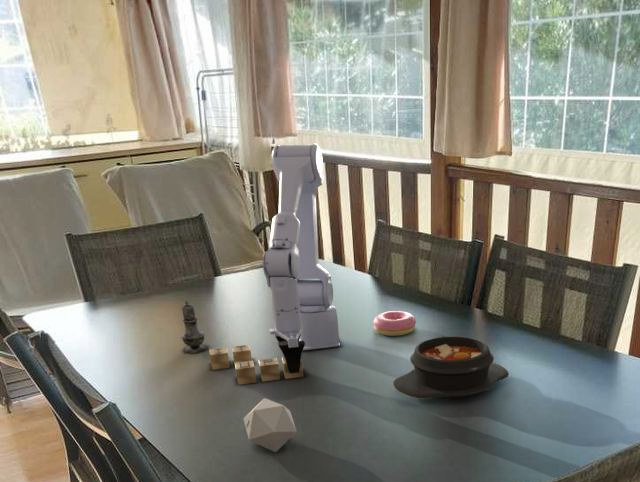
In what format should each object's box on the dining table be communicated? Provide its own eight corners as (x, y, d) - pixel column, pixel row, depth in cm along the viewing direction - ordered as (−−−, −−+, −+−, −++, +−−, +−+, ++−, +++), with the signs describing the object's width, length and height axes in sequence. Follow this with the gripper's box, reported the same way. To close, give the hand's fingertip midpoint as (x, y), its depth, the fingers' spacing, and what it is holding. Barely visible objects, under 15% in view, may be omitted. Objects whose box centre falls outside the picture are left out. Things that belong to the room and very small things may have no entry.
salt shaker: (201, 353, 168) (192, 304, 161) (179, 352, 169) (169, 304, 162) (211, 345, 173) (202, 297, 166) (189, 344, 174) (180, 297, 167)
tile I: (229, 361, 162) (226, 346, 160) (230, 367, 159) (227, 352, 157) (211, 364, 161) (209, 349, 159) (212, 370, 158) (209, 354, 156)
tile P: (278, 372, 155) (276, 357, 153) (280, 379, 151) (278, 363, 149) (260, 375, 154) (258, 359, 152) (262, 381, 151) (260, 365, 149)
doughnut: (366, 335, 174) (365, 319, 171) (382, 322, 182) (382, 306, 180) (407, 339, 170) (407, 323, 168) (421, 325, 178) (421, 309, 176)
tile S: (301, 370, 156) (299, 354, 154) (303, 376, 152) (301, 361, 150) (283, 372, 155) (281, 357, 153) (285, 379, 152) (283, 363, 150)
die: (261, 434, 130) (228, 406, 122) (300, 410, 128) (269, 380, 120) (270, 468, 125) (237, 441, 117) (310, 443, 123) (280, 414, 115)
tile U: (255, 375, 154) (252, 360, 152) (256, 382, 150) (254, 366, 149) (237, 378, 153) (234, 362, 151) (238, 384, 150) (235, 368, 148)
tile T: (251, 359, 163) (249, 344, 161) (252, 365, 160) (250, 349, 158) (234, 361, 162) (231, 346, 160) (235, 367, 159) (232, 352, 157)
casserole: (422, 416, 132) (422, 375, 128) (377, 384, 146) (376, 346, 142) (527, 388, 142) (530, 348, 137) (475, 361, 156) (476, 324, 151)
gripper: (264, 300, 151) (271, 359, 158) (270, 319, 139) (278, 382, 146) (295, 297, 152) (301, 356, 159) (305, 315, 140) (311, 378, 147)
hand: (292, 368), depth 153 cm, fingers closed on tile S, 4 cm apart
